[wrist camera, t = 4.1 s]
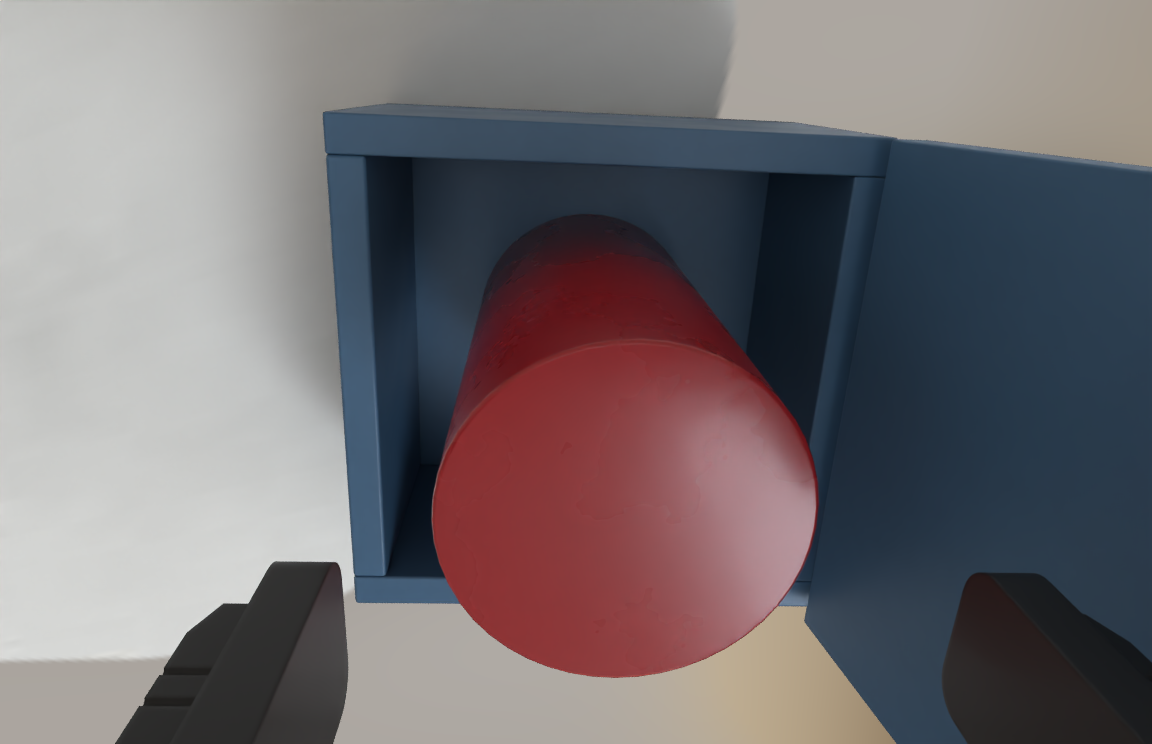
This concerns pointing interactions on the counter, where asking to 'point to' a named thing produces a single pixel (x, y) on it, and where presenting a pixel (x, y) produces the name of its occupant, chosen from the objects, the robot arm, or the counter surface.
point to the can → (616, 463)
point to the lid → (989, 414)
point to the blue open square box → (549, 191)
